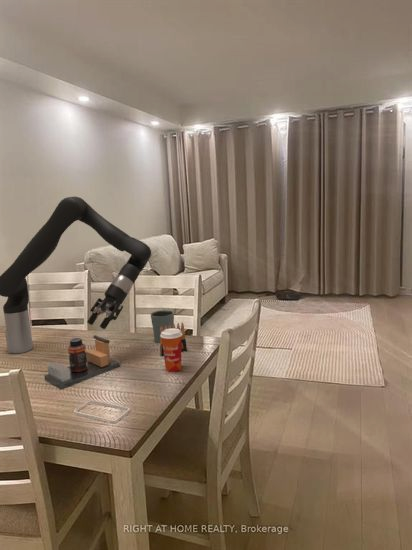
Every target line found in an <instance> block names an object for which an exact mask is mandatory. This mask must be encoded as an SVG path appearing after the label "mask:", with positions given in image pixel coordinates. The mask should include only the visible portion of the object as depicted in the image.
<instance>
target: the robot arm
mask: <svg viewBox="0 0 412 550" xmlns="http://www.w3.org/2000/svg"><path fill="white" fill-rule="evenodd" d="M77 221H79V222H81V223H83V224H85V225H87V226H88V227H91V228H92V229H93V230H94V231H95V232H96V233H97V234H98V235H99V237H101V238H102V239H103V240H104V241H105V242H106V243H108V244H109V245H111V246H112V247H114V248H115V249H116V250H118V251H120V252H126V253H128V254H129V255H130V257H129V258H128V260H127V262H126V263H125V264H124V265H123V266H122V267H121V269H120V270H119V271H118V273H117V275H116V276H115V277H114V278H113V279H112V281H111V282H110V284H109V286H108V287H107V289H106V290H105V291H104V293H103V294H104V299H102V298H100V297H99V298H97V300H96V301H95V303H94V304H93V306H92V307H91V309H90V312H91V315H90V317H89V318H88V320H87V321H86V322H87V323H88V324H89V325H91V326H93V325H94V323H95V322H96V320H97V319H98V317H99V316H100V315H103V314H105V313H106V315H105V317H104V318H103V319H102V321H101V323H100V325H99V327H100V328H101V329H102V330H105V329H107V327H108V325H109V324H110V322H111V321H116V320H117V319H118V318H119V316H120V313H121V312H122V310H123V308H124V306H123V303H124V301H125V300H126V297H127V296H128V295H129V293H130V292H131V290H132V287H134V286H133V285H134V284H135V282H136V281H137V279H138V277H139V276H140V273H141V272H142V271H143V269H144V268H145V266H146V265H148V262H149V260H150V258H151V256H152V250H151V248H150V247H149V245H148V244H147V243H145V242H143V241H142V240H139V239H137V238H136V237H132V236H130V235H129V234H127V233H126V232H125V231H123V230H122V229H120V228H119V227H117V226H116V225H114V224H113V223H111V222H110V221H109V220H107V219H106V218H104V217H103V216H102V215H100V214H99V212H97V211H96V210H95V209H94V208H93V207H92V206H91V205H90V204H89V203H87V201H85V199H83V198H82V197H79V196H68V197H64V198H63V199H61V200H60V201H59V202H58V204H57V205H56V207H55V209H54V211H53V212H52V213H51V215H50V217H49V218H48V219H47V221H46V223H45V224H43V225H42V227H41V228H40V229H39V230H38V231H37V232H36V234H35V235H34V236H33V237H32V238H31V239H30V241H29V242H28V243H27V244H26V245H25V247H24V248H23V249H22V251H21V252H20V253H19V255H18V256H17V258H16V259H15V260H14V261H13V263H12V264H11V265H10V266H9V267H8V268H7V269H6V270H5V271H4V272H3V273H2V274H1V275H0V296H1V297H3V298H4V297H5V298H7V299H6V302H5V303H4V304H3V307H2V309H3V316H4V324H5V331H4V334H5V341H6V342H5V343H6V348H7V353H8V354H22V353H27V352H29V351H32V350H33V349H34V343H33V337H32V335H33V334H32V328H31V322H30V321H31V320H30V315H29V314H30V313H29V301H30V297H29V285H28V280H27V279H26V278H27V277H28V275H30V274H31V273H32V272H33V271H35V270H36V269H37V268H39V267H40V266H41V265H43V264H44V263H45V262H46V261H47V260H48V259H49V258H50V256H51V255H52V254H53V253H54V252H55V250H56V248H57V246H58V244H59V242H60V239H61V237H62V235H63V234H64V232H66V231H67V229H68V228H69V227H71V225H72V224H73V223H75V222H77Z"/></svg>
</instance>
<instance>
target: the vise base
mask: <svg viewBox="0 0 412 550" xmlns="http://www.w3.org/2000/svg"><path fill="white" fill-rule="evenodd" d="M46 364H47V363H46ZM120 364H121V363H120V361H119V360H118V361H117V360H115V359H112V358H110V362H109V365H106V366H103V367H100V366H98V365H96V364H93V363H91V362H89V361H87V365H88V368H87V369H86V370H84V371H82V372H72V371H71V369H70V365H69V366H65V365H63V364H60V363H59V362H57V361H53V362H50V363H48V364H47V365H46V366H47V374H45V375H44V380H45V381H47V382H48V383H50V384H51V385H54V386H55V387H56V388H59V389H60V390H64V389H65V388H68V387H72V386H73V385H76V384H78V383H81V382H84V381H86V380H89V379H92V378H94V377H96V376H100V375H101V374H103V373H106V372H108V371H112V370H114V369H117V368H119V367H121V365H120Z"/></svg>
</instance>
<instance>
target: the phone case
mask: <svg viewBox="0 0 412 550" xmlns="http://www.w3.org/2000/svg"><path fill="white" fill-rule="evenodd" d="M89 404H94V405H99V406H104V407H108V406H109V407H108V408H113V407H114V408H113V409H117V408H120V409H119V410H122V409H123V411H124V412H123V413H122V414H121V415H119V417H117V418H115V419H111V418H107V417H101V416H98V415H93V414H88V413H84V412H79V411H78V410H80V409H81V408H83V407H84V406H86V405H89ZM130 413H131V409H130V408H129V407H127V406H121V405H117V404H114V403H113V404H112V403H107V402H102V401H98V400H93V399H91V400H88V401H87V402H85V403H84V404H82V405H80V406H78V408H76V409H75V410H74V411H73V414H74V415H75V416H80V417H84V418H88V419H93V420H97V421H98V420H103V421H108V422H109V424H114V423H115V424H117V423H119V420H120V419H121V420H122V419H123V418H124V417H126V416H125V415H126V414H127V415H128V414H130ZM121 420H120V421H121Z"/></svg>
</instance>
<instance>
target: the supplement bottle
mask: <svg viewBox="0 0 412 550" xmlns="http://www.w3.org/2000/svg"><path fill="white" fill-rule="evenodd" d="M82 339H83V338H81V337H74V338H71V339H69V344H70V345H69V346H68V347H67V352H68V360H69V366H70V369H71V371H72V372H82V371H84V370H86V369H87V368H88V365H87V356H86V351H87V350H86V348H87V347H86V345H85V344H84V343H83V340H82Z"/></svg>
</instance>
